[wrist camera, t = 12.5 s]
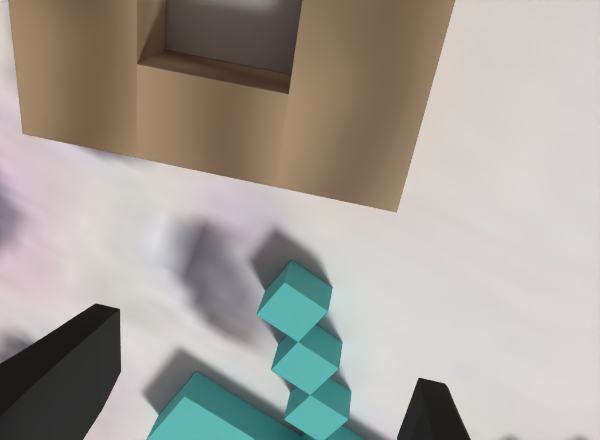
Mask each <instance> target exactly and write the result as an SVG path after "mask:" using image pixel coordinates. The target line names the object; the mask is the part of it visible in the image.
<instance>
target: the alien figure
mask: <svg viewBox="0 0 600 440" xmlns="http://www.w3.org/2000/svg"><path fill="white" fill-rule="evenodd" d="M332 288H333V287H331V286H330V285H328V284H327V283H326V282H324V281H323V280H321V279H320V278H318V277H317V276H315V275H314V274H312V273H311V272H309V271H308V270H306V269H305V268H303V267H302V266H300V265H299V264H298V263H296V262H295V261H293V260H291V262H290V263H289V264H288V265H287V266H286V267H285V269H284V270H283V271H282V272H281V273H280V274H279V276H278V277H277V278H276V279H275V280H274V281H273V283H272V284H271V285H270V286H269V287H268V288H267V290H266V291H265V293H264V296H263V298H262V301H261V304H260V306H259V309H258V312H257V314H256V315H257V316H259V317H260V318H262V319H264V320H265V321H267V322H268V323H270V324H271V325H273V326H274V327H276V328H277V329H279V330H280V331H282V332H283V333H285V334H287V336H286V337H285V338H284V339H283V340H282V341H281V342H280V343H279V344H278V348H277V351H276V354H275V358H274V361H273V365H272V368H271V371H273V372H275V373H276V374H278V375H279V376H281V377H282V378H284V379H286V380H287V381H289V382H290V383H292V384H293V385H295V386H296V387H295V388H294V389H293V390H292V391H291V392H290V396H289V400H288V404H287V409H286V413H285V417H284V420H285V421H287V422H289V423H290V424H292V425H293V426H295V427H297V428H298V429H300V430H301V431H303V432H305V433H304V434H302V435H299V434H297V433H296V432H294V431H293V430H291V429H289V428H288V427H286V426H285V425H283V424H281V423H280V422H278V421H276V420H275V419H273V418H272V417H270V416H268V415H267V414H265V413H263V412H262V411H260V410H259V409H257V408H255V407H254V406H252V405H251V404H249V403H247V402H246V401H244V400H242V399H241V398H239V397H238V396H236V395H234V394H233V393H231V392H230V391H228V390H226V389H225V388H223V387H221V386H220V385H218V384H217V383H215V382H213V381H212V380H210V379H209V378H207V377H205V376H204V375H202V374H200V373H199V372H197V371H196V372H195V373H194V375H193V376H192V377H191V378H190V379H189V380H188V382H187V383H186V384H185V385H184V386H183V387H182V389H181V390H180V391H179V392H178V393H177V394H176V396H175V397H174V398H173V399H172V400H171V401H170V403H169V404H168V405H167V406H166V407H165V408H164V410H163V411H162V412H161V413H160V414H159V416H158V418H157V420H156V422H155V424H154V426H153V428H152V430H151V432H150V434H149V436H148V438H147V440H365V439H363V438H362V437H360V436H359V435H357V434H355V433H354V432H352V431H351V430H349V429H347V428H346V427H344V426H343V424H344V423H345V422H346V421H347V420H349V410H350V400H351V391H350V390H348V389H347V388H345V387H344V386H342V385H340V384H339V383H337V382H336V381H334V380H333V379H331V378H330V376H332V375H333V374H334V373H335V372H336V371H337V370H338V369H339V364H340V357H341V350H342V342H341V341H340V340H338V339H337V338H335V337H334V336H332V335H331V334H329V333H328V332H326V331H325V330H323V329H322V328H320V327H319V326H317V325H316V323H317V322H318V321H319V320H320V319H321V318H322V317H323V316H324V315H325V314H326V313H327V312H328V309H329V304H330V298H331V293H332Z"/></svg>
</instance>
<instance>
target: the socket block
mask: <svg viewBox="0 0 600 440" xmlns="http://www.w3.org/2000/svg"><path fill="white" fill-rule="evenodd" d="M8 1H9V10H10V20H11V29H12V38H13V48H14V57H15V66H16V76H17V85H18V94H19V104H20V113H21V122H22V132H23V134H26V135H30V136H35V137H40V138H45V139H50V140H54V141H59V142H64V143H69V144H73V145H78V146H83V147H88V148H92V149H97V150H102V151H107V152H111V153H116V154H121V155H126V156H131V157H135V158H140V159H145V160H150V161H154V162H159V163H164V164H169V165H173V166H178V167H183V168H188V169H193V170H197V171H202V172H207V173H212V174H216V175H221V176H226V177H231V178H235V179H240V180H245V181H250V182H254V183H259V184H264V185H269V186H274V187H278V188H283V189H288V190H293V191H297V192H302V193H307V194H312V195H316V196H321V197H326V198H331V199H335V200H340V201H345V202H350V203H355V204H359V205H364V206H369V207H374V208H378V209H383V210H388V211H393V212H397V210H398V206H399V203H400V199H401V195H402V192H403V188H404V185H405V181H406V177H407V174H408V170H409V166H410V163H411V159H412V155H413V152H414V148H415V145H416V141H417V137H418V134H419V130H420V126H421V123H422V119H423V116H424V112H425V108H426V105H427V101H428V97H429V94H430V90H431V86H432V83H433V79H434V76H435V72H436V68H437V65H438V61H439V57H440V54H441V50H442V47H443V43H444V39H445V36H446V32H447V28H448V25H449V21H450V17H451V14H452V10H453V7H454V3H455V0H302V6H301V13H300V20H299V27H298V34H297V41H296V48H295V55H294V62H293V69H292V75H290V74H285V73H280V72H275V71H270V70H265V69H259V68H254V67H249V66H244V65H239V64H234V63H229V62H224V61H218V60H213V59H208V58H203V57H198V56H193V55H188V54H183V53H178V52H172V51H167V50H165V34H166V0H8Z"/></svg>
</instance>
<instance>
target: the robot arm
mask: <svg viewBox="0 0 600 440" xmlns="http://www.w3.org/2000/svg"><path fill="white" fill-rule="evenodd" d="M120 372H121V345H120V309H118V308H113V307H109V306H105V305H100V304H94V305H93V306H91V307H89V308H88V309H86V310H85V311H83V312H81V313H80V314H78V315H77V316H75V317H74V318H72V319H71V320H69V321H68V322H66V323H65V324H63V325H62V326H60V327H58V328H57V329H55V330H54V331H52V332H51V333H49V334H48V335H46V336H45V337H43V338H42V339H40V340H38V341H37V342H35V343H34V344H32V345H30V346H29V347H27V348H26V349H24V350H22V351H21V352H19V353H18V354H16V355H14V356H13V357H11V358H9V359H8V360H6V361H4V362H2V363H1V364H0V440H83V439H84V437H85V436H86V434H87V433H88V431H89V429H90V428H91V426H92V425H93V423H94V422H95V420H96V419H97V417H98V415H99V414H100V412H101V411H102V409H103V407H104V405H105V403H106V401H107V399H108V397H109V395H110V393H111V391H112V389H113V387H114V385H115V383H116V381H117V379H118V376H119V374H120ZM397 440H471V439H470V437H469V435H468V433H467V430H466V428H465V426H464V424H463V422H462V419H461V417H460V415H459V413H458V410H457V408H456V406H455V403H454V401H453V399H452V396H451V394H450V391H449V389H448V387H447V386H446V384H444V383H440V382H436V381H431V380H427V379H423V378H418V381H417V384H416V387H415V389H414V392H413V395H412V398H411V401H410V403H409V406H408V409H407V412H406V414H405V417H404V420H403V423H402V425H401V428H400V431H399V434H398V437H397Z"/></svg>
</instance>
